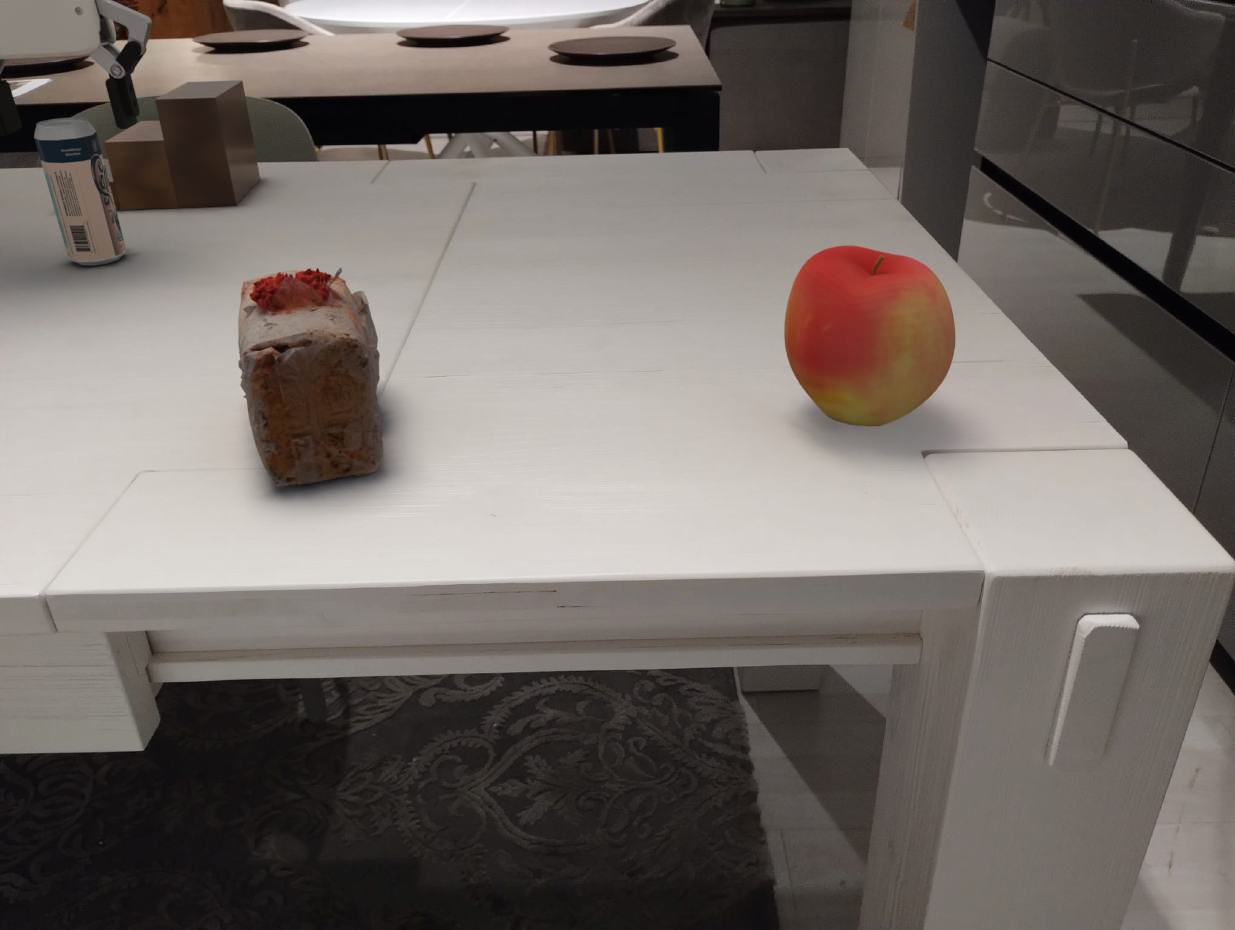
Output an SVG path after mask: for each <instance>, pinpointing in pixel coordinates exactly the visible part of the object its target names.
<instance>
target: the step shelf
mask: <svg viewBox="0 0 1235 930" xmlns="http://www.w3.org/2000/svg"><path fill="white" fill-rule="evenodd" d="M154 103H155V107H156V111H157V117H158V120H141V121H139V122H137V123H136V124H135V125H133V126H131V127H130V128H128V129H124V130H123V131H120V132H119V133H117V134H116V135H114V136H112V137H110V138H109V139H107V140H105V141H103V145H104V149H105V154H106V157H107V158H103V160H104V164H105V168H106V172H107V176H108V180H109V184H110V188H111V192H112V196H113V199H114V203H115V207H116V211H131V210H132V211H133V210H136V211H137V210H158V209H159V210H160V209H183V208H188V209H189V208H213V207H214V208H215V207H236V206H237V205H238V204H240V203H241V201H242V200H243V199H244V198H245V197H246V196H247V195H248V194H249V193H250V192H251V191H252V189H254V187H255V186H256V185H257V184H258V183H259V182H260V181H261V175H260V170H259V164H258V159H257V153H256V148H255V143H254V137H253V130H252V125H251V119H250V114H249V109H248V104H247V103H248V102H247V98H246V93H245V87H244V82H243V80H241V79H240V80H207V81H206V80H205V81H187V82H185V83H182V84H181V85H179V86H178V87H176V88H174V89H172V90H170V91H168V92H166V93H164V94H162V95H161V96H158V97H156V98H155V99H154Z"/></svg>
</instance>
